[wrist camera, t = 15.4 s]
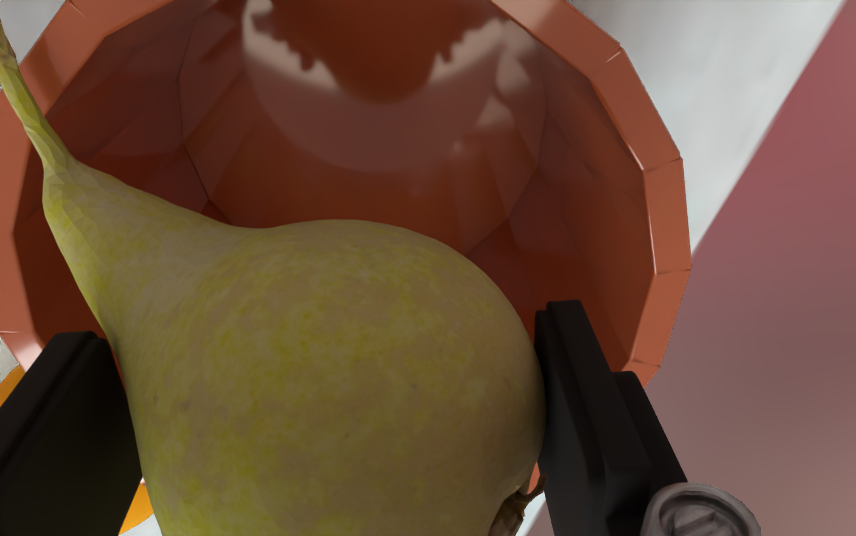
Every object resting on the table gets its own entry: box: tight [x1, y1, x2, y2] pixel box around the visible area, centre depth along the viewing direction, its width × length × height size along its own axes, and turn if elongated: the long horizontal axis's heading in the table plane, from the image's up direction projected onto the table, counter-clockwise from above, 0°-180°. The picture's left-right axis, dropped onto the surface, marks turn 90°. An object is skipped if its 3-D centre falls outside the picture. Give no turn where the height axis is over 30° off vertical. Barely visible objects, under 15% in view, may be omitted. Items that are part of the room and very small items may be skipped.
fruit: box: [0, 20, 548, 536], centre depth 12 cm, size 7×8×12 cm
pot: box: [0, 0, 692, 494], centre depth 20 cm, size 15×15×12 cm
